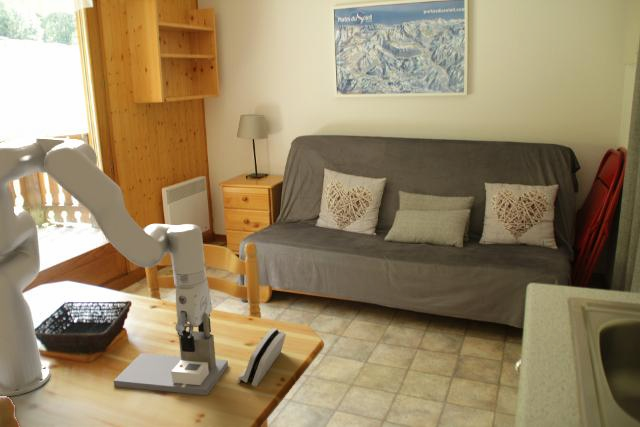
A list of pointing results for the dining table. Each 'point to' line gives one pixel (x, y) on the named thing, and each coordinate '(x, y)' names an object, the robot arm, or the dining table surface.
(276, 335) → the grey zipper pouch
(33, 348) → the robot arm
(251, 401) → the dining table surface
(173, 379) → the white electronic device
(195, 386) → the board
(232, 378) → the dining table surface
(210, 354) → the padlock
